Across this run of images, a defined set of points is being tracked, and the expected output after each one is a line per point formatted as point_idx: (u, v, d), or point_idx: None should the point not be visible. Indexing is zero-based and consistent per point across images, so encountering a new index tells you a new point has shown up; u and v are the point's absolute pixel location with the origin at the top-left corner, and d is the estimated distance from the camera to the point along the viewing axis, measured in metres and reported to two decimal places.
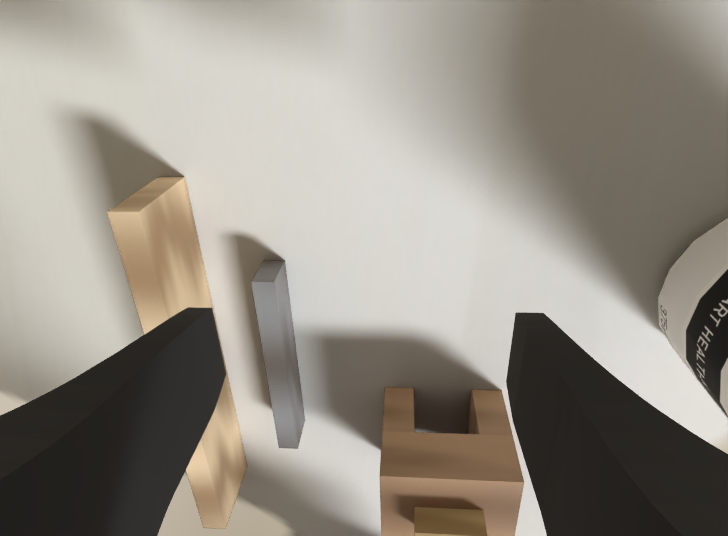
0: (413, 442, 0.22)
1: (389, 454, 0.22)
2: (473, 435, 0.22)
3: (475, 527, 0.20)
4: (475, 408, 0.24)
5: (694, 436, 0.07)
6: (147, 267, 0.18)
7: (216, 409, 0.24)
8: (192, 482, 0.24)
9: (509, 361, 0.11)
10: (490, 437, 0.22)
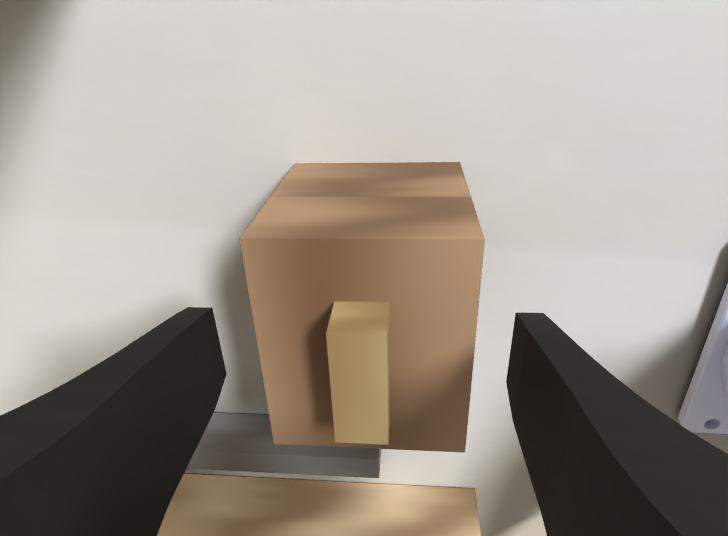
0: None
1: None
2: None
3: None
4: None
5: (694, 436, 0.07)
6: None
7: (318, 522, 0.20)
8: None
9: (509, 361, 0.11)
10: None
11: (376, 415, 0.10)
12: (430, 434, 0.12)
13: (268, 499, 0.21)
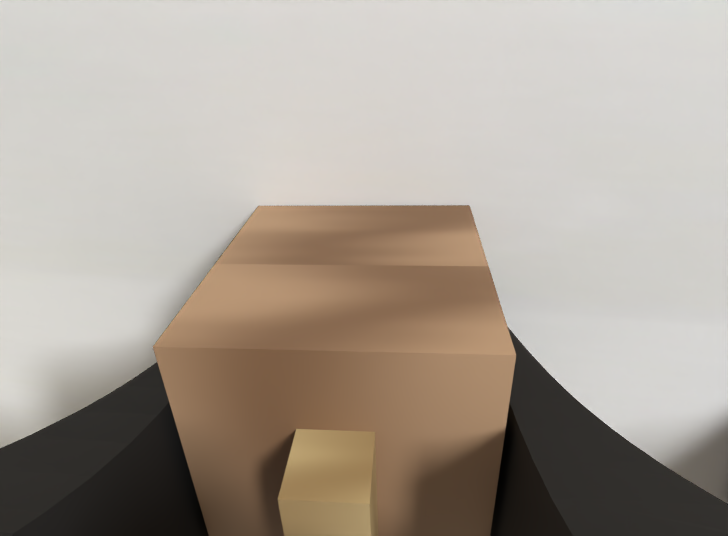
0: None
1: None
2: None
3: None
4: None
5: (616, 433, 0.07)
6: None
7: None
8: None
9: None
10: None
11: None
12: None
13: None
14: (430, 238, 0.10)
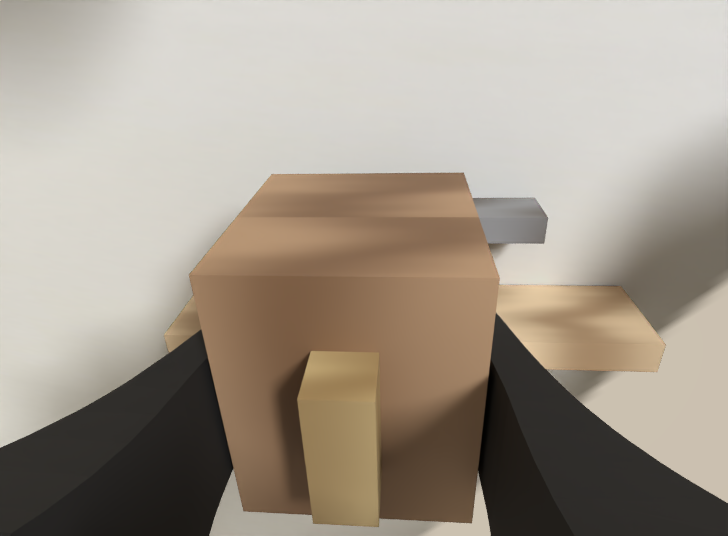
0: None
1: None
2: None
3: None
4: None
5: (617, 433, 0.07)
6: None
7: None
8: (553, 366, 0.17)
9: None
10: None
11: (363, 494, 0.08)
12: (430, 503, 0.10)
13: None
14: (427, 197, 0.11)
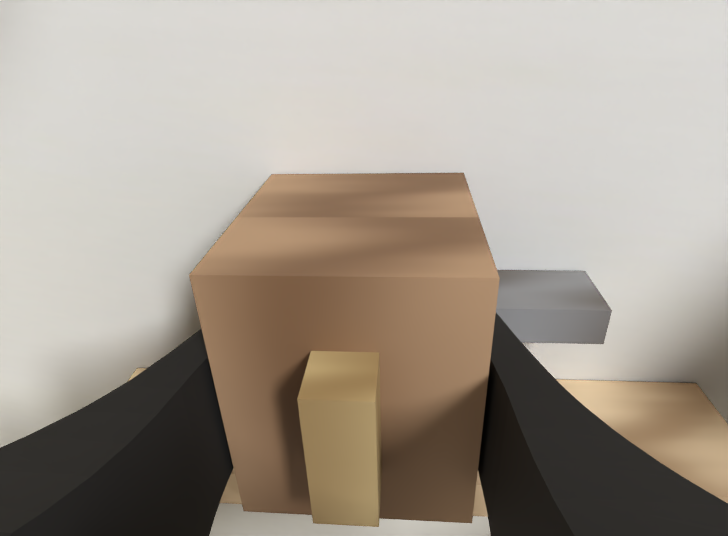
0: None
1: None
2: None
3: None
4: None
5: (617, 433, 0.07)
6: None
7: None
8: None
9: None
10: None
11: (362, 493, 0.08)
12: (430, 503, 0.10)
13: None
14: (427, 197, 0.11)
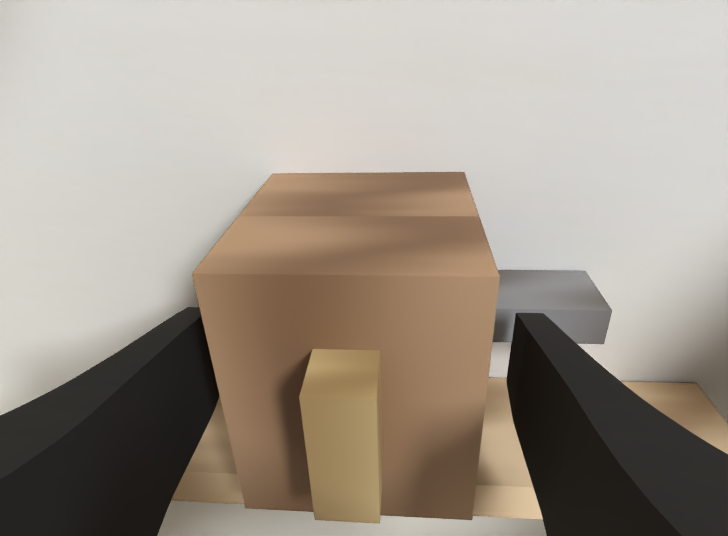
0: None
1: None
2: None
3: None
4: None
5: (693, 436, 0.07)
6: None
7: (489, 424, 0.14)
8: None
9: (509, 361, 0.11)
10: None
11: (364, 490, 0.08)
12: (430, 500, 0.10)
13: None
14: (428, 196, 0.11)
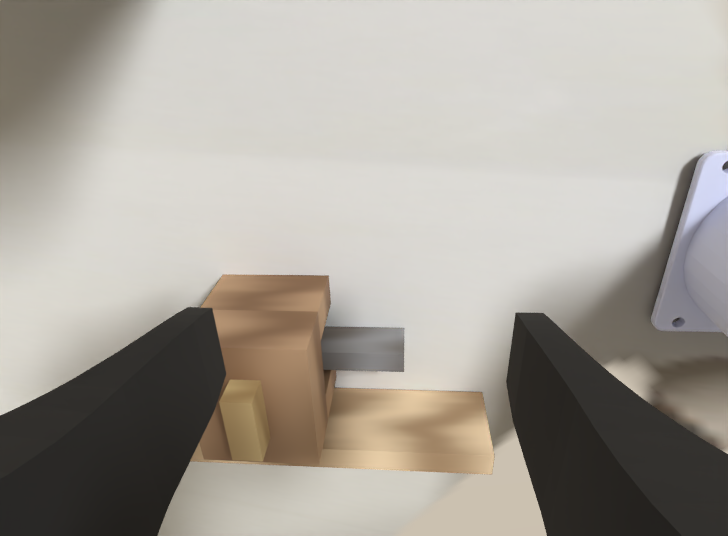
0: None
1: None
2: None
3: None
4: None
5: (694, 435, 0.07)
6: None
7: (350, 416, 0.24)
8: (411, 468, 0.22)
9: (509, 361, 0.11)
10: None
11: (253, 444, 0.18)
12: (296, 454, 0.20)
13: None
14: (300, 296, 0.21)
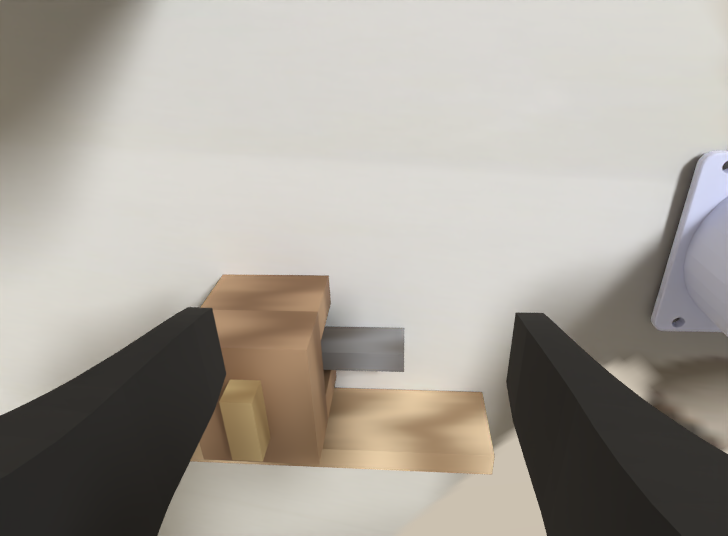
0: None
1: None
2: None
3: None
4: None
5: (694, 435, 0.07)
6: None
7: (350, 416, 0.24)
8: (411, 468, 0.22)
9: (509, 361, 0.11)
10: None
11: (253, 444, 0.18)
12: (296, 454, 0.20)
13: None
14: (300, 296, 0.21)
